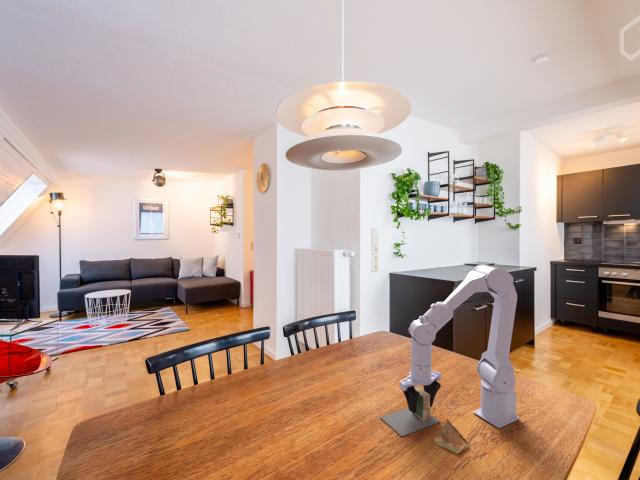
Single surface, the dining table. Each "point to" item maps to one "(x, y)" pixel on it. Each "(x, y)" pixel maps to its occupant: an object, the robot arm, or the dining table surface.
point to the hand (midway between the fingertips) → (420, 408)
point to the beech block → (423, 405)
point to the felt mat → (407, 422)
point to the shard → (450, 438)
